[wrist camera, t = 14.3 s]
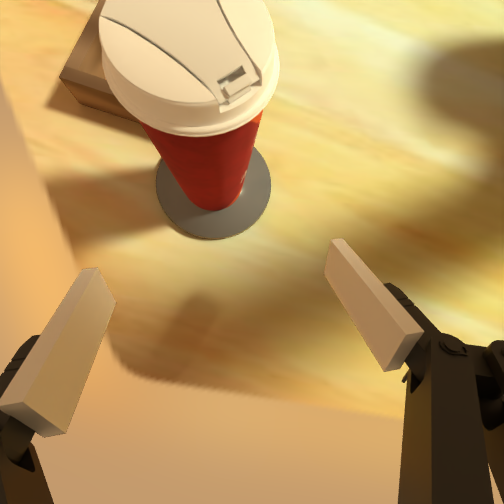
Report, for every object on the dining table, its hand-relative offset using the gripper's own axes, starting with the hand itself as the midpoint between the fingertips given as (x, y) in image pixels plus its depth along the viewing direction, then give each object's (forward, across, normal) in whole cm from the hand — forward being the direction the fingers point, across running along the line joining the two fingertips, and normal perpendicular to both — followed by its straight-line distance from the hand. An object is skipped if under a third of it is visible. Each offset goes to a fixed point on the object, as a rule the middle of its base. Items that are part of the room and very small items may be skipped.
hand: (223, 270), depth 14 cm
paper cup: (+12, 0, +1) cm, 12 cm away
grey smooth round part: (+12, 0, +1) cm, 13 cm away
